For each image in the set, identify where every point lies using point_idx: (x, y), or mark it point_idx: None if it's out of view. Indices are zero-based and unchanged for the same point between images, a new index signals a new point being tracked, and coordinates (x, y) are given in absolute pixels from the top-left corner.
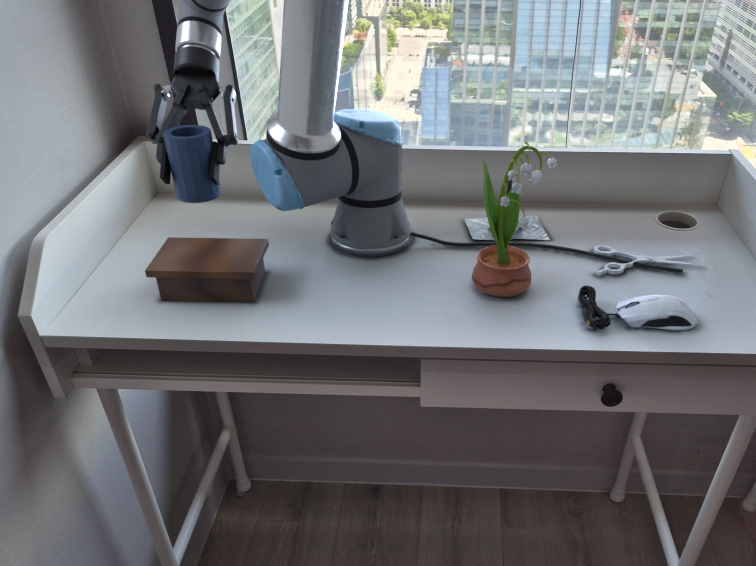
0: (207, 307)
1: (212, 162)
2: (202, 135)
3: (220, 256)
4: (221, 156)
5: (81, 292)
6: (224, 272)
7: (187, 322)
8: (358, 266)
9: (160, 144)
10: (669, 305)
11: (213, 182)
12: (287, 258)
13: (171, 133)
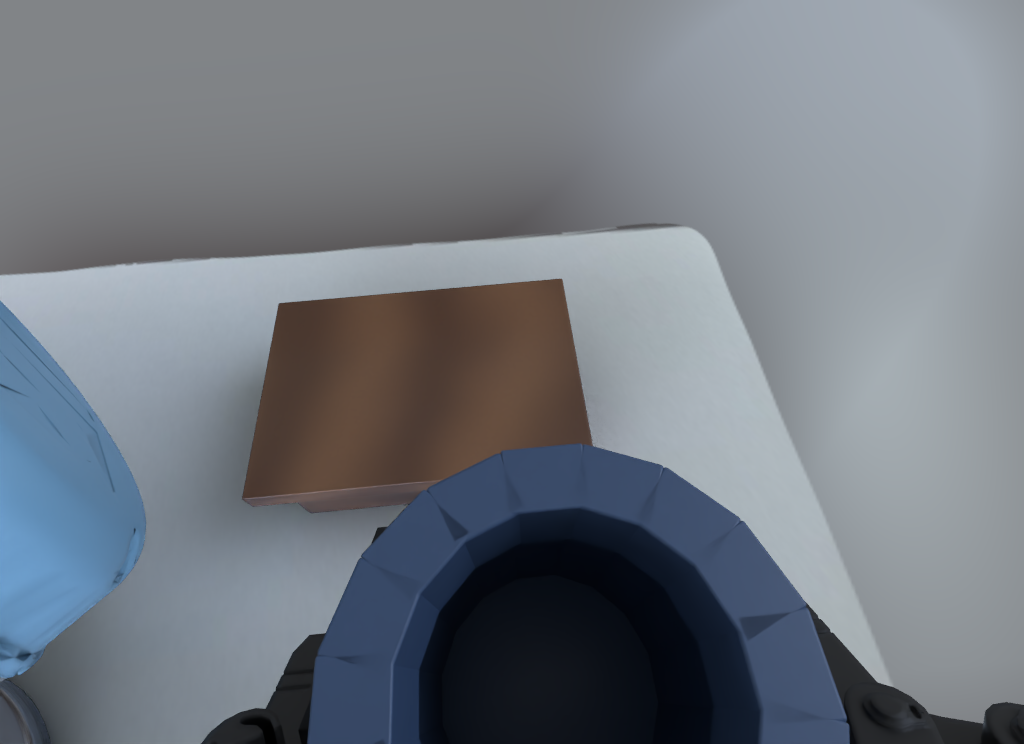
0: None
1: None
2: (366, 569)
3: (382, 366)
4: (303, 660)
5: (755, 360)
6: (355, 297)
7: (455, 287)
8: None
9: (844, 685)
10: None
11: None
12: (242, 625)
13: (735, 649)
